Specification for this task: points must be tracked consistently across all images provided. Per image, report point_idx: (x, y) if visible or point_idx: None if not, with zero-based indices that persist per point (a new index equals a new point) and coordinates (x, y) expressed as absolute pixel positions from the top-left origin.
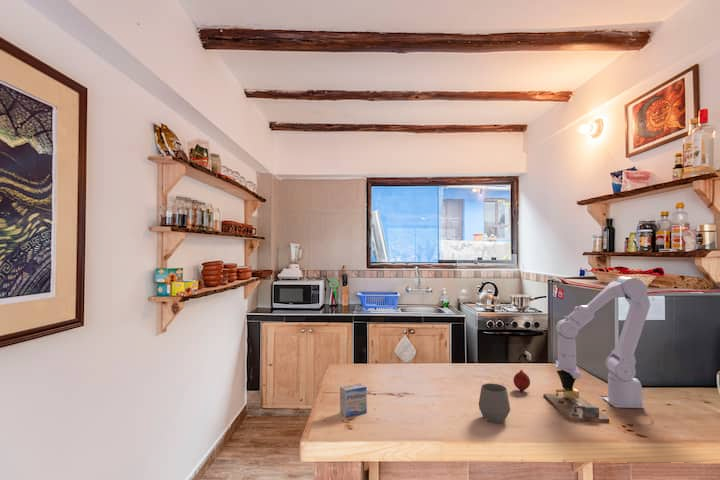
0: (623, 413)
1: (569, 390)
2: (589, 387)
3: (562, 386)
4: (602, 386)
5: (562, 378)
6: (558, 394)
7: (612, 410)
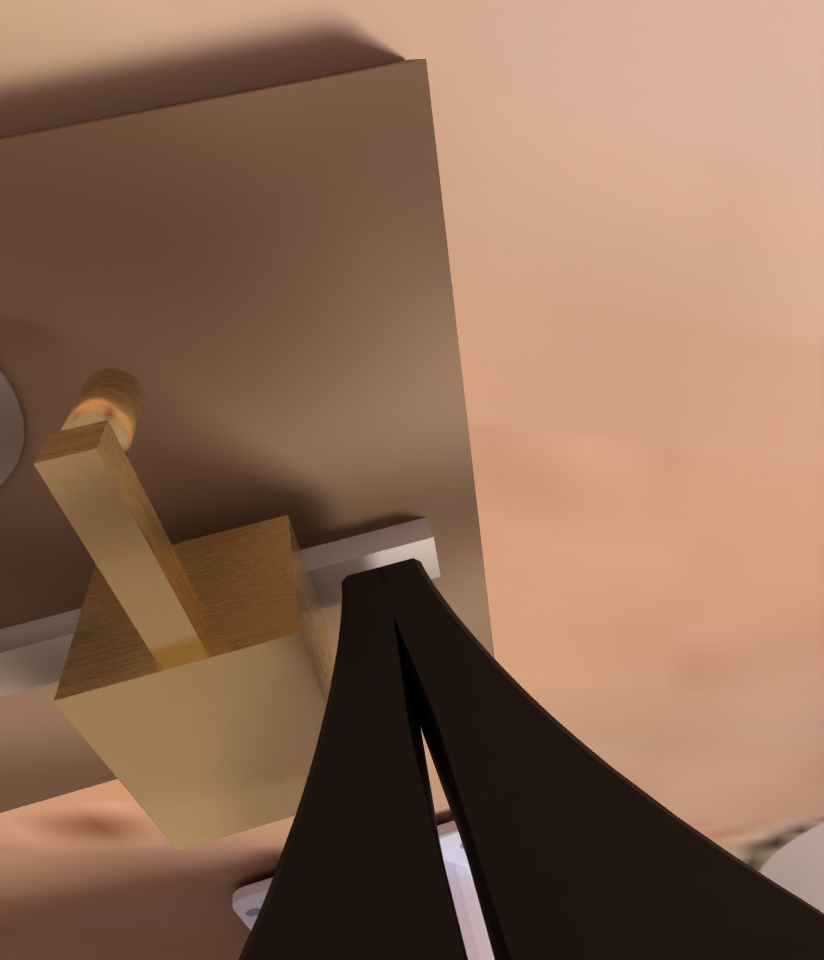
0: (97, 926)
1: (138, 737)
2: (781, 728)
3: (443, 616)
4: (785, 796)
5: (340, 921)
6: (436, 422)
7: (139, 873)
